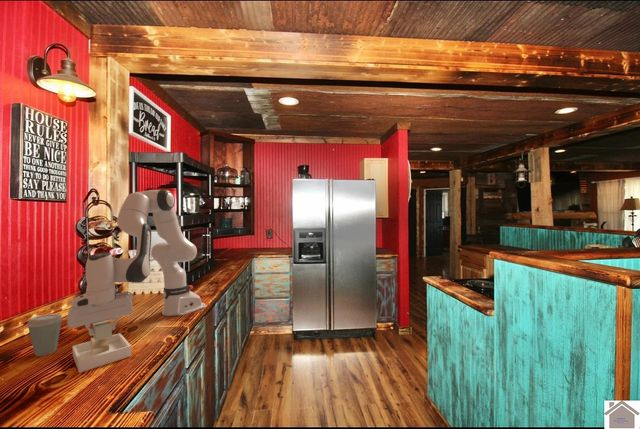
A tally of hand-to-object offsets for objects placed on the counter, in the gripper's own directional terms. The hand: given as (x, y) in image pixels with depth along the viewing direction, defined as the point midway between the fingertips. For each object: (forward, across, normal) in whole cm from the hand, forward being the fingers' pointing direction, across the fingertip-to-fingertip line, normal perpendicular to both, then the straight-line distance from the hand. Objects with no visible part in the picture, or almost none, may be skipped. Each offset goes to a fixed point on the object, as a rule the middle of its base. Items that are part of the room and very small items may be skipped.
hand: (102, 332), depth 113 cm
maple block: (+10, 0, -8) cm, 12 cm away
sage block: (+2, 0, 0) cm, 2 cm away
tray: (+11, 0, -4) cm, 11 cm away
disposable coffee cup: (+11, +15, -25) cm, 31 cm away
